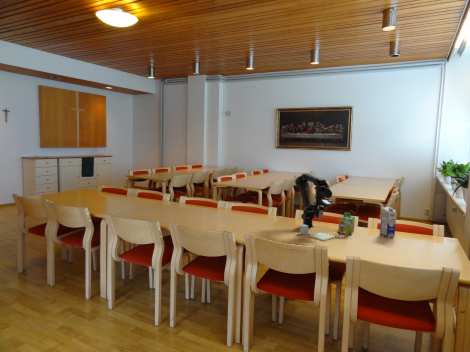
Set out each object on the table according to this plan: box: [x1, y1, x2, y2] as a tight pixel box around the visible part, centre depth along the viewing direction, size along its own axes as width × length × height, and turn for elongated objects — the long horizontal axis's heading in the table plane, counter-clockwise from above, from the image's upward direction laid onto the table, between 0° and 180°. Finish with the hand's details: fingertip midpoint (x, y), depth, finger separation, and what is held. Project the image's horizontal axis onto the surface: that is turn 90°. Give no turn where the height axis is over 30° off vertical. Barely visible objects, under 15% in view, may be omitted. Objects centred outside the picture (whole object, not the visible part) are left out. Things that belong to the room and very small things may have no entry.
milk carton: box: [379, 206, 397, 238], centre depth 231 cm, size 7×7×20 cm
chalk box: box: [337, 212, 356, 236], centre depth 238 cm, size 9×9×15 cm
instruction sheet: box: [333, 233, 346, 239], centre depth 232 cm, size 10×7×1 cm
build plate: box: [309, 232, 336, 242], centre depth 228 cm, size 12×12×1 cm
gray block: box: [299, 224, 309, 236], centre depth 235 cm, size 4×4×6 cm
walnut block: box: [314, 210, 324, 220], centre depth 239 cm, size 4×4×6 cm
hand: (319, 216), depth 240 cm, fingers closed on walnut block, 4 cm apart
